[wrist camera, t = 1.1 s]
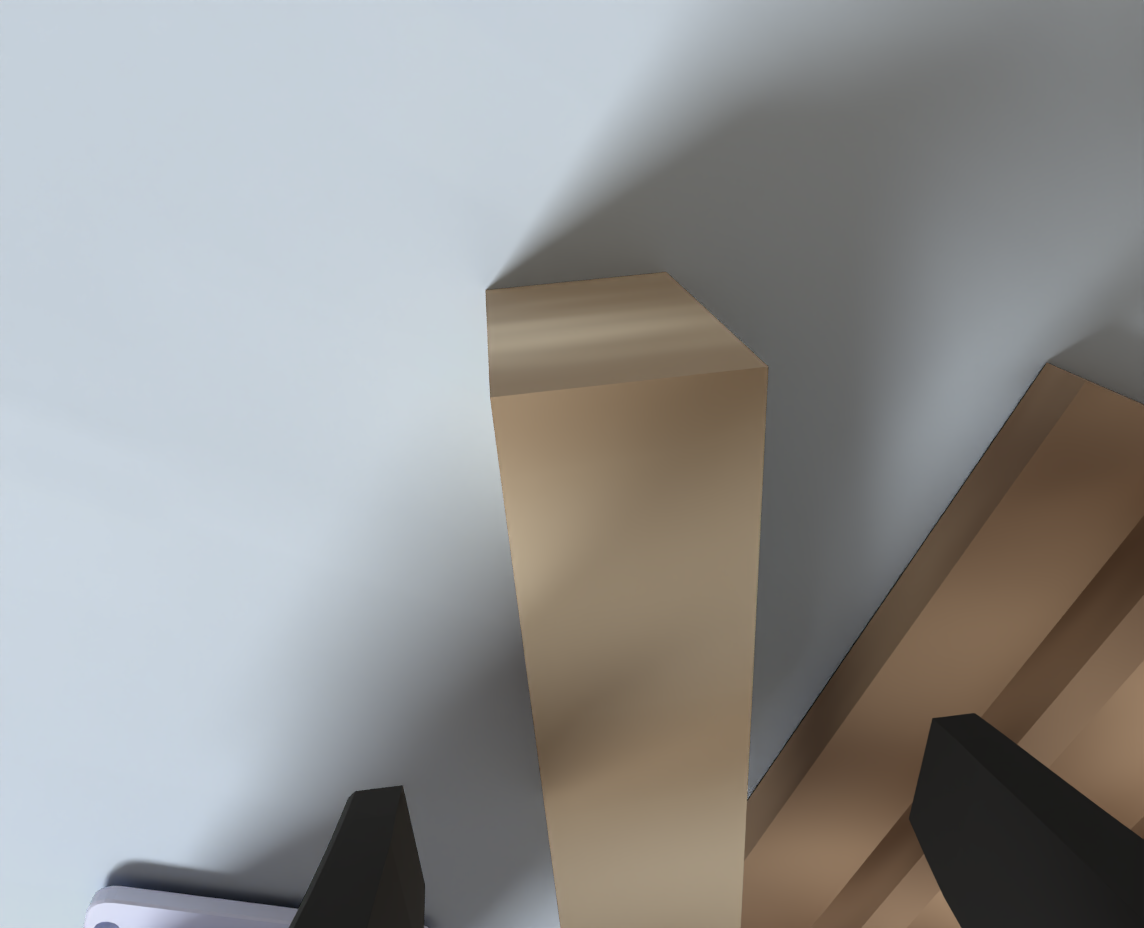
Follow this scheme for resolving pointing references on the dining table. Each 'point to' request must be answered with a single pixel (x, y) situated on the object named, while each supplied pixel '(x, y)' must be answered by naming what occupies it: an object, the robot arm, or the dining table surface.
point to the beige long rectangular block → (634, 586)
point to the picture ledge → (973, 667)
